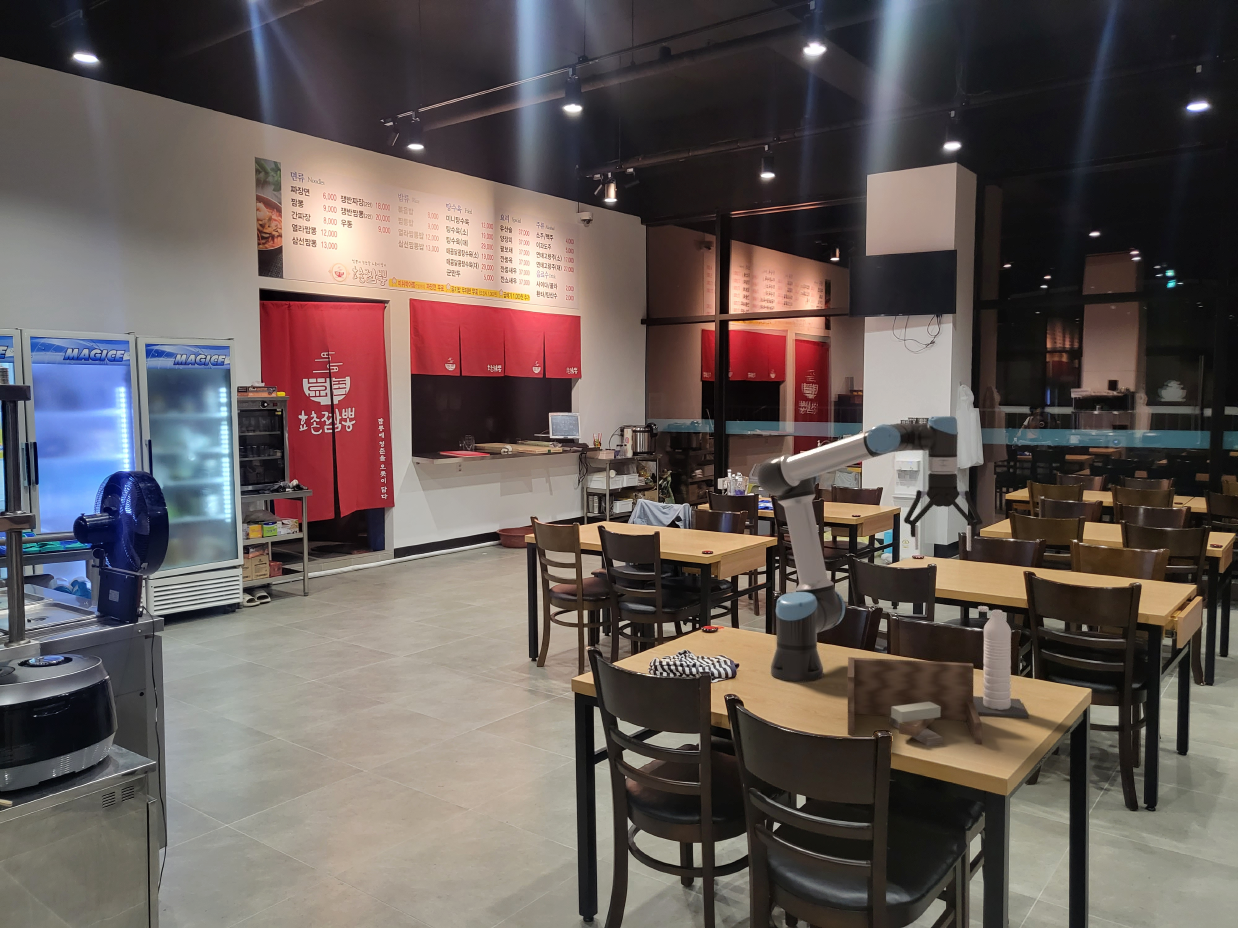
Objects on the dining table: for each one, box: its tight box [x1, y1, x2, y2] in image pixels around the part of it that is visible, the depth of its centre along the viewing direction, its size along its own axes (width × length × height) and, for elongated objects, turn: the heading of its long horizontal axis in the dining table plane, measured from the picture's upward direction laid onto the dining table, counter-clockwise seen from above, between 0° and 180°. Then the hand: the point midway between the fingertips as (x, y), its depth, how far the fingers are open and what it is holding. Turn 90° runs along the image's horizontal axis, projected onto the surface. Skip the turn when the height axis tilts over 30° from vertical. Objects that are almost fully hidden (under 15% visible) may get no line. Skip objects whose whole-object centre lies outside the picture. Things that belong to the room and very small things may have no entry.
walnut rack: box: [847, 656, 983, 745], centre depth 219 cm, size 30×18×14 cm, turn 75°
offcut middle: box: [898, 718, 935, 737], centre depth 215 cm, size 14×4×2 cm, turn 145°
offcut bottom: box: [888, 716, 944, 747], centre depth 215 cm, size 16×4×2 cm, turn 15°
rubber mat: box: [973, 695, 1030, 719], centre depth 231 cm, size 13×13×1 cm
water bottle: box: [977, 605, 1012, 710], centre depth 231 cm, size 9×6×25 cm
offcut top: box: [890, 702, 941, 722], centre depth 214 cm, size 11×4×2 cm, turn 109°
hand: (942, 549), depth 247 cm, fingers open, 13 cm apart
